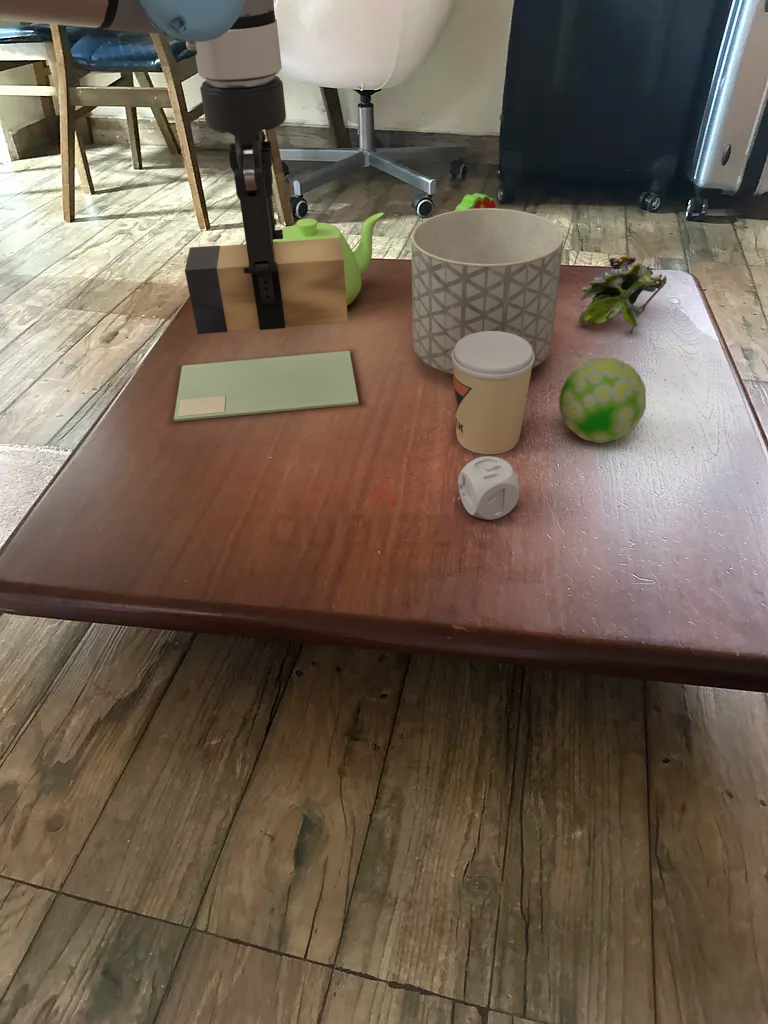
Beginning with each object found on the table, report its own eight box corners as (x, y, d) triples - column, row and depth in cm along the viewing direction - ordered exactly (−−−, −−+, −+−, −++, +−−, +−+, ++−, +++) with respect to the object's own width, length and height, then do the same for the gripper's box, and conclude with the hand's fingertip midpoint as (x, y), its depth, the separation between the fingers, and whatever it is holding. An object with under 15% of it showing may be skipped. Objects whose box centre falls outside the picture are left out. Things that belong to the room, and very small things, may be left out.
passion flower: (608, 342, 124) (652, 273, 120) (644, 362, 115) (694, 288, 111) (555, 310, 119) (600, 237, 115) (589, 329, 110) (638, 250, 106)
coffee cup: (452, 413, 100) (454, 328, 92) (526, 417, 99) (534, 330, 91) (446, 456, 93) (448, 367, 85) (526, 461, 92) (535, 371, 84)
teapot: (373, 272, 134) (370, 195, 126) (400, 309, 123) (398, 226, 115) (246, 293, 130) (234, 213, 121) (263, 332, 119) (250, 248, 110)
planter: (572, 351, 111) (589, 224, 99) (506, 413, 100) (517, 277, 88) (458, 319, 120) (462, 199, 108) (386, 372, 109) (381, 244, 97)
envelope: (174, 421, 101) (173, 418, 101) (182, 367, 111) (181, 364, 111) (358, 404, 103) (358, 401, 102) (349, 353, 113) (349, 349, 113)
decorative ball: (609, 406, 100) (622, 335, 94) (654, 448, 93) (671, 375, 86) (540, 422, 98) (548, 351, 91) (580, 467, 91) (592, 392, 84)
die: (475, 525, 83) (477, 488, 80) (457, 497, 87) (458, 461, 84) (517, 513, 85) (521, 477, 81) (497, 487, 88) (500, 451, 85)
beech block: (344, 298, 89) (340, 236, 84) (347, 322, 84) (343, 258, 80) (201, 309, 88) (189, 247, 83) (197, 334, 83) (184, 270, 79)
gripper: (206, 59, 78) (241, 280, 93) (190, 105, 64) (234, 358, 78) (281, 55, 78) (304, 275, 93) (282, 100, 64) (309, 352, 79)
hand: (272, 313), depth 86 cm, fingers closed on beech block, 6 cm apart
